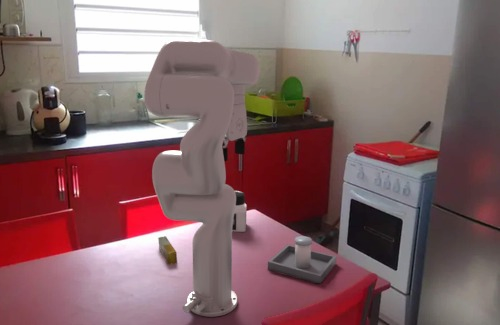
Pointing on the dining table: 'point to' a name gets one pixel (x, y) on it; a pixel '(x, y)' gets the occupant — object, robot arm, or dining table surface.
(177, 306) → the dining table surface
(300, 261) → the mushroom
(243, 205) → the container
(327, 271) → the tray
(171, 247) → the medication box
